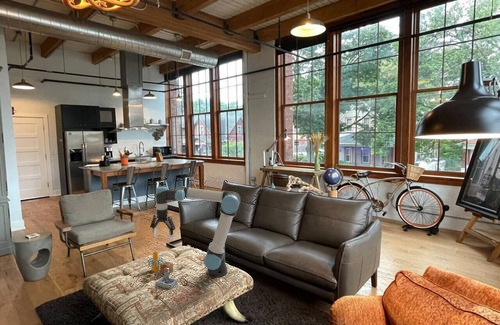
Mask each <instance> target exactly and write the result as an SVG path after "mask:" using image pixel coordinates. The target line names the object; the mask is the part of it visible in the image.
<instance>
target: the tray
mask: <svg viewBox="0 0 500 325" xmlns="http://www.w3.org/2000/svg"><path fill="white" fill-rule="evenodd" d="M178 284H179V283H178V278H177V279H176V278H171V277H169V284H166V283H165V281H164V276H163V277H161V278H159V279H158V280H157V281H155V286H156V287H159V286H160V287H161V288H164V289H168V288H169V289H168V290H171V289H172V288H173V287H175V286H176V285H178Z"/></svg>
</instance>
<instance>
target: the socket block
mask: <svg viewBox="0 0 500 325" xmlns="http://www.w3.org/2000/svg"><path fill="white" fill-rule="evenodd" d="M154 278H155V274H151V273H147V274H145V275H144V276H142V277H141V279H142V280H141V281H142V282H147V283H150V282H152V281H153V280H154Z"/></svg>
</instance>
